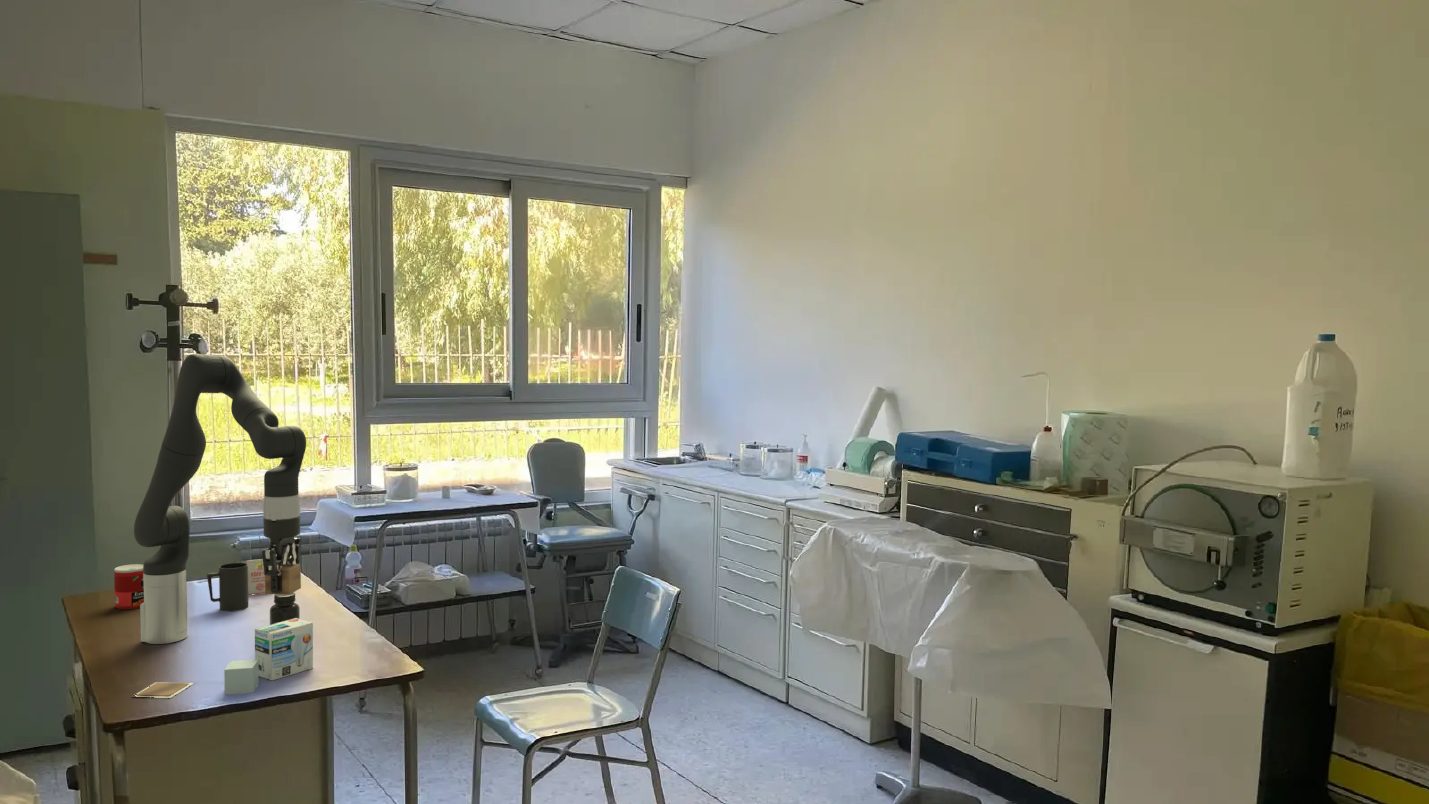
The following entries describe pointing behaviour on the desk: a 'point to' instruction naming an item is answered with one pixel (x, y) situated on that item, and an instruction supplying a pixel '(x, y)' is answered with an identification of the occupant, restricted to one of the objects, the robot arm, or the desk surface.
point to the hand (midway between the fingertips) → (282, 588)
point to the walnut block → (286, 579)
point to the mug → (231, 586)
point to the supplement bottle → (284, 608)
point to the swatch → (163, 690)
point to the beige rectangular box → (256, 577)
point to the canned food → (129, 586)
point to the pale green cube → (241, 676)
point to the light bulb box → (284, 648)
